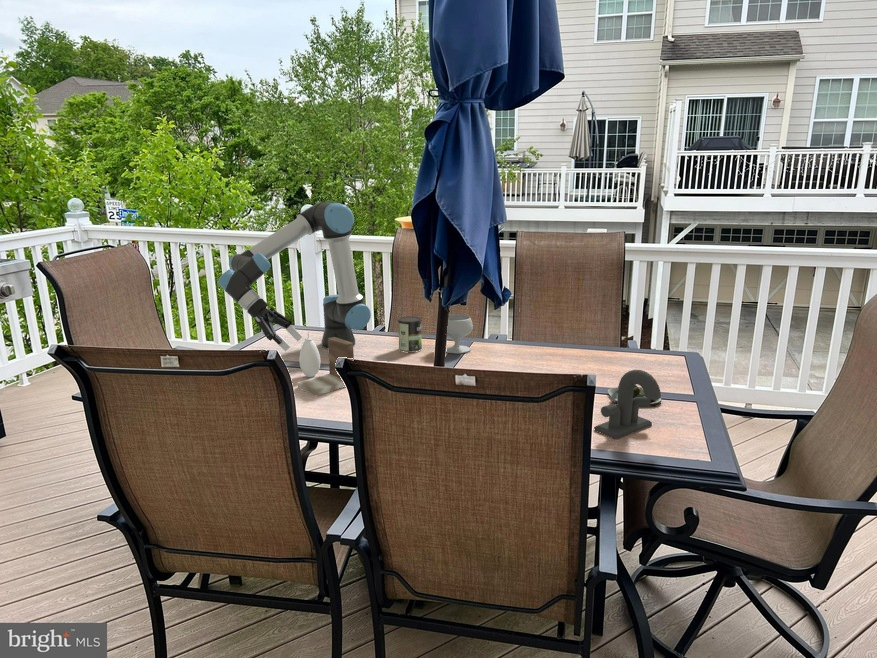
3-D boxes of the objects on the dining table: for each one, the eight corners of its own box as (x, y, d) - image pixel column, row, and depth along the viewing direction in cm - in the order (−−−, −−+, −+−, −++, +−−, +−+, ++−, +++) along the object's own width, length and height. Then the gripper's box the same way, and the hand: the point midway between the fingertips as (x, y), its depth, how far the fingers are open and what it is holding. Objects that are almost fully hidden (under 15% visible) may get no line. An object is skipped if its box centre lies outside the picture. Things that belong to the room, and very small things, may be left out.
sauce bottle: (324, 377, 237) (321, 332, 232) (304, 381, 233) (301, 335, 229) (317, 372, 244) (314, 328, 239) (297, 375, 240) (294, 330, 235)
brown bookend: (336, 376, 238) (334, 336, 234) (354, 384, 230) (353, 343, 226) (297, 387, 227) (294, 345, 223) (315, 395, 219) (313, 352, 214)
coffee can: (423, 346, 277) (423, 316, 273) (419, 353, 267) (419, 322, 263) (401, 346, 278) (400, 315, 275) (396, 352, 268) (395, 321, 265)
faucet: (635, 449, 176) (641, 383, 171) (592, 430, 188) (596, 368, 183) (673, 433, 186) (679, 370, 181) (630, 416, 199) (634, 357, 194)
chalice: (456, 343, 281) (456, 311, 277) (479, 350, 271) (479, 317, 267) (434, 350, 271) (434, 317, 267) (457, 357, 262) (457, 322, 258)
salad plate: (598, 388, 225) (599, 376, 224) (647, 388, 225) (648, 376, 224) (612, 408, 206) (613, 395, 205) (665, 408, 206) (667, 395, 205)
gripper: (260, 303, 246) (299, 341, 248) (233, 318, 222) (276, 360, 224) (272, 291, 244) (311, 328, 246) (245, 304, 220) (289, 346, 222)
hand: (294, 343), depth 235 cm, fingers open, 13 cm apart
